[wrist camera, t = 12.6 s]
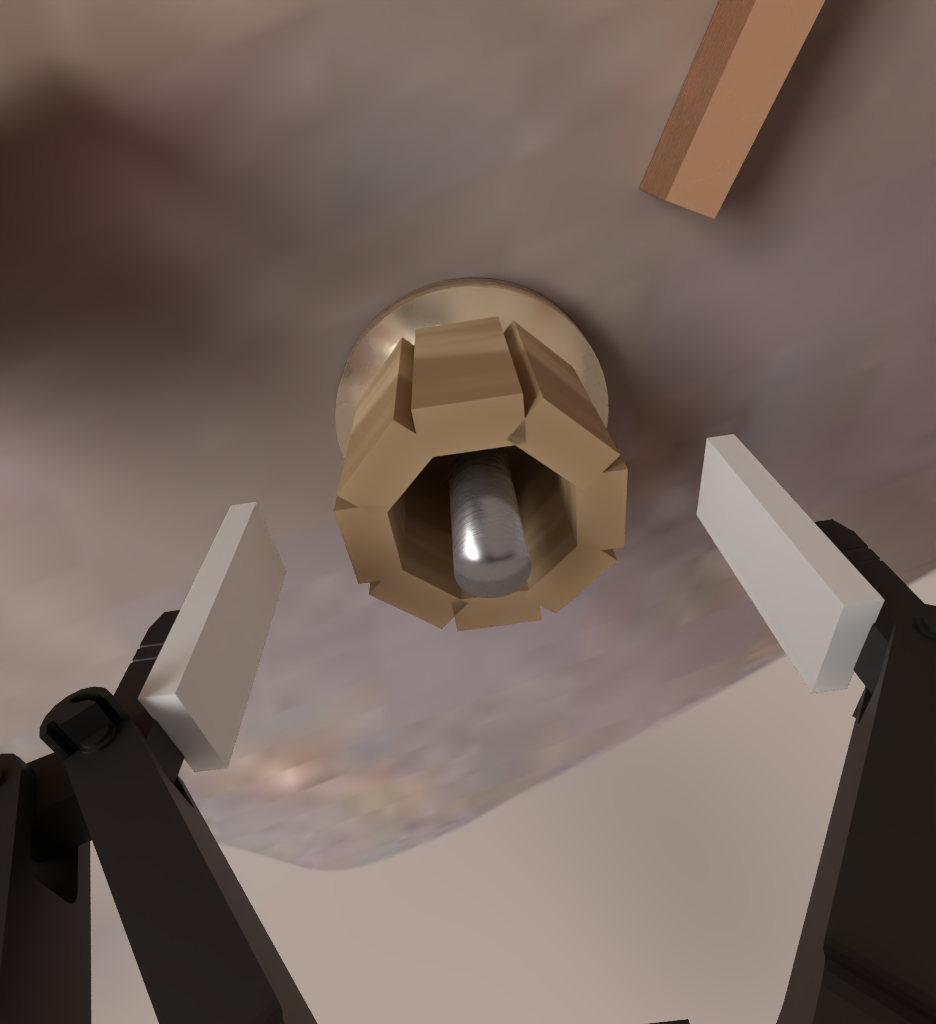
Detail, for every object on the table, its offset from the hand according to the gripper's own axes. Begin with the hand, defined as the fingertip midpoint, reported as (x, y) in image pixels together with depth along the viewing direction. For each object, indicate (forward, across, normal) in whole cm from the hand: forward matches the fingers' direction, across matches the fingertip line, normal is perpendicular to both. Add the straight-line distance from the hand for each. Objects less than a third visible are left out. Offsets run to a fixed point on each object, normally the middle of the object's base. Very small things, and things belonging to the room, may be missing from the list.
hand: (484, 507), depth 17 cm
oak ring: (+5, 0, 0) cm, 5 cm away
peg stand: (+6, 0, 0) cm, 6 cm away
